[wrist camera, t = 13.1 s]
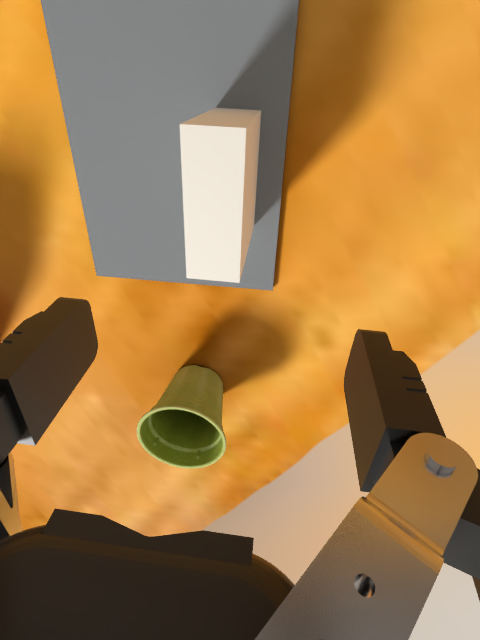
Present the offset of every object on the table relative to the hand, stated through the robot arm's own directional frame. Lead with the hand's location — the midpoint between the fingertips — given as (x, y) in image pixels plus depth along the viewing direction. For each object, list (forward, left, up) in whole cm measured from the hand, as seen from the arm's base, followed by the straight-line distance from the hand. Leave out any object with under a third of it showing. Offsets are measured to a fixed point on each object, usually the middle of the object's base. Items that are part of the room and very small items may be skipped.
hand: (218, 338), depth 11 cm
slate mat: (0, -7, -24) cm, 25 cm away
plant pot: (+25, -6, -24) cm, 35 cm away
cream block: (0, -2, -23) cm, 24 cm away
